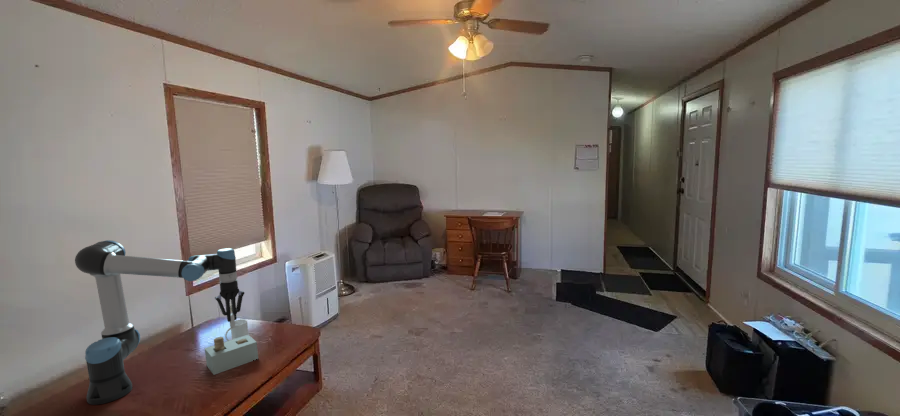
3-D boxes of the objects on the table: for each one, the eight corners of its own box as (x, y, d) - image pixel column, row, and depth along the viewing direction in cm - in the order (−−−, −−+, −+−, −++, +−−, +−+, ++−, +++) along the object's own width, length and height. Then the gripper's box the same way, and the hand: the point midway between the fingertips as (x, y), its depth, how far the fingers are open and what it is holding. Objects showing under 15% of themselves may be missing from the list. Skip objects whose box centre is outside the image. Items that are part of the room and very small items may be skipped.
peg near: (216, 357, 193) (215, 341, 192) (214, 354, 196) (212, 338, 195) (226, 354, 196) (224, 338, 195) (223, 351, 199) (221, 336, 198)
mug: (229, 350, 212) (227, 329, 210) (223, 346, 218) (220, 325, 216) (252, 342, 221) (250, 321, 219) (245, 338, 226) (243, 317, 225)
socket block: (213, 374, 189) (211, 356, 188) (206, 365, 198) (204, 348, 196) (258, 358, 203) (256, 341, 202) (250, 350, 211) (248, 334, 210)
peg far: (240, 358, 201) (238, 343, 200) (237, 355, 203) (236, 340, 202) (249, 355, 203) (247, 340, 202) (246, 353, 206) (244, 338, 205)
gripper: (215, 285, 189) (220, 333, 192) (245, 279, 198) (249, 325, 201) (211, 282, 194) (215, 328, 197) (240, 276, 203) (244, 320, 206)
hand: (232, 327), depth 199 cm, fingers closed
